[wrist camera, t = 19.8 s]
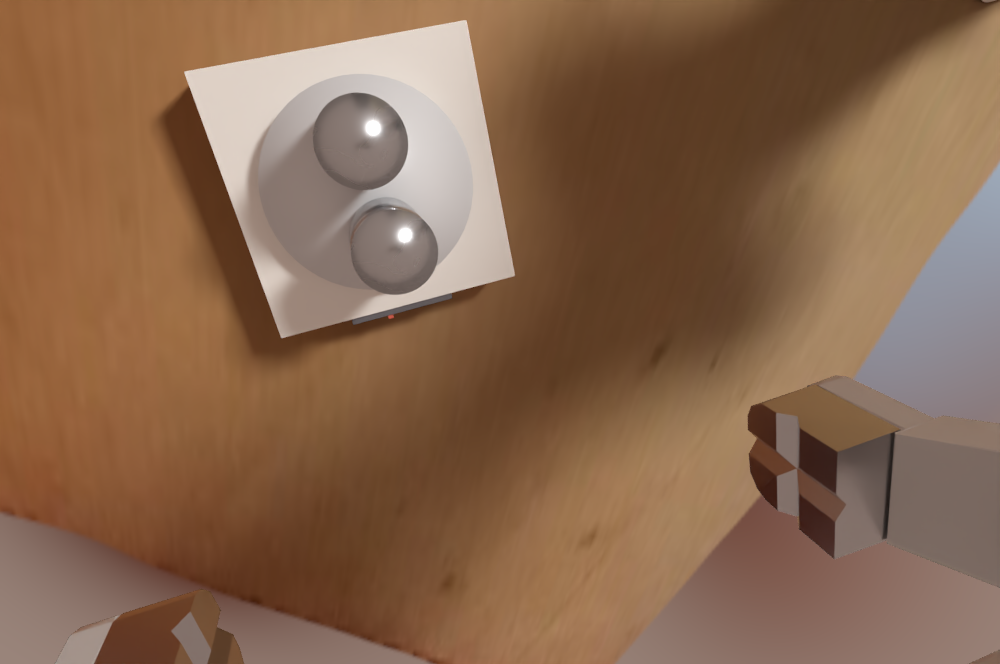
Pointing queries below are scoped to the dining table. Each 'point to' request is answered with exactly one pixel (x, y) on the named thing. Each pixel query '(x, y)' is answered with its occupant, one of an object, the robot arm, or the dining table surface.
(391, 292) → the cylinder
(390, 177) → the cylinder
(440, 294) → the scale
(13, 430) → the dining table surface
